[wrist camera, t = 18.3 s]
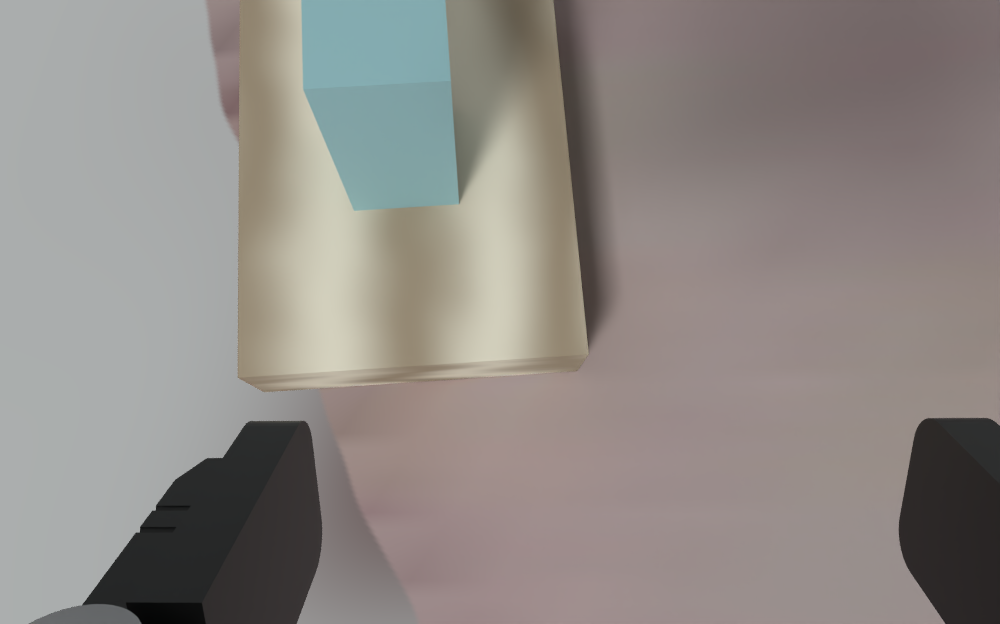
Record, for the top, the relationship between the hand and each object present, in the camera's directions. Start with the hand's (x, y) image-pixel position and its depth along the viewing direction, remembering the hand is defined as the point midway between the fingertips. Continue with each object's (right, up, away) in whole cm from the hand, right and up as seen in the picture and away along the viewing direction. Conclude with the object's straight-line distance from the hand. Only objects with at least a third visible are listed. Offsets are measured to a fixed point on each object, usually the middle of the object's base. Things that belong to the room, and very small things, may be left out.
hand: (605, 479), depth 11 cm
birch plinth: (-6, +8, +27) cm, 29 cm away
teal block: (-5, +9, +24) cm, 26 cm away
